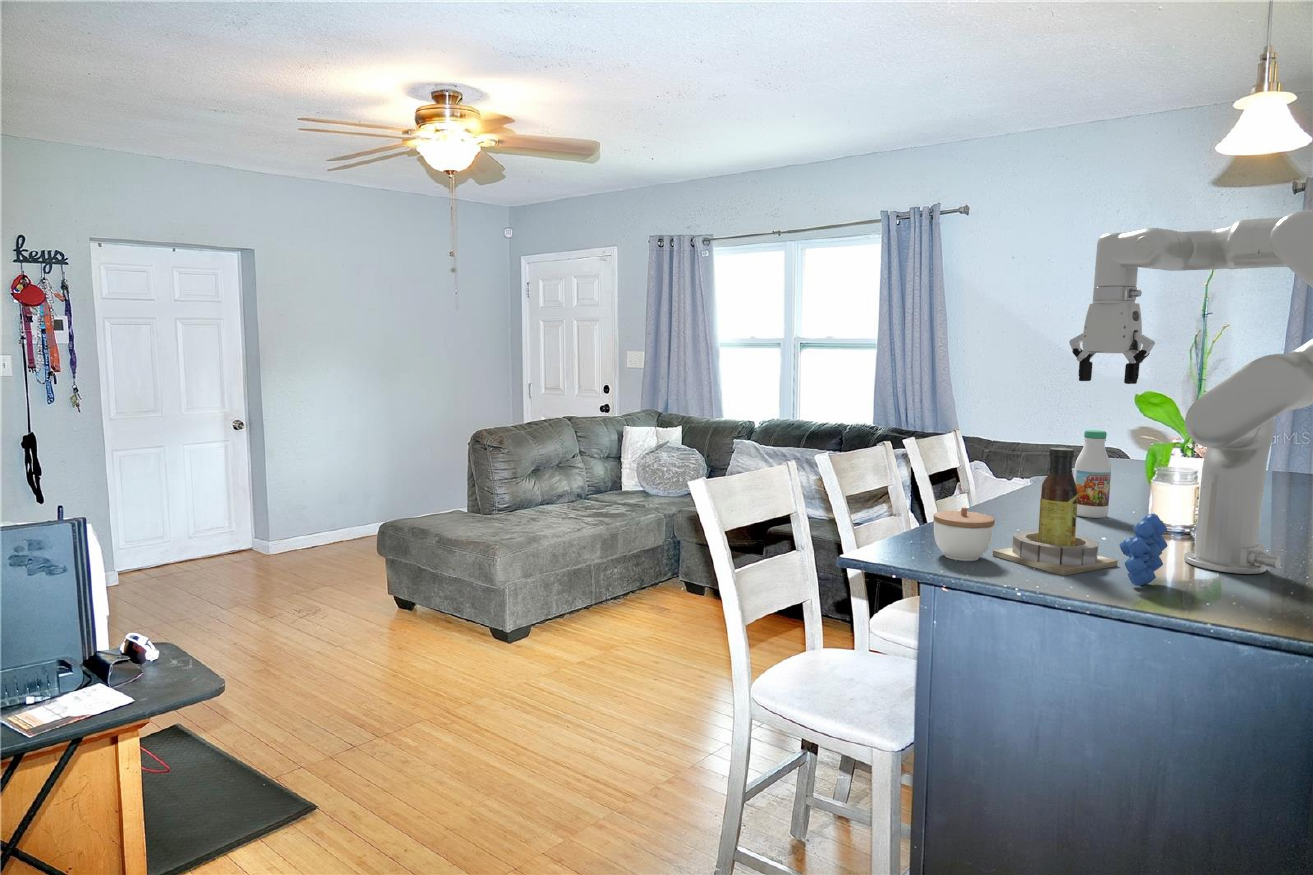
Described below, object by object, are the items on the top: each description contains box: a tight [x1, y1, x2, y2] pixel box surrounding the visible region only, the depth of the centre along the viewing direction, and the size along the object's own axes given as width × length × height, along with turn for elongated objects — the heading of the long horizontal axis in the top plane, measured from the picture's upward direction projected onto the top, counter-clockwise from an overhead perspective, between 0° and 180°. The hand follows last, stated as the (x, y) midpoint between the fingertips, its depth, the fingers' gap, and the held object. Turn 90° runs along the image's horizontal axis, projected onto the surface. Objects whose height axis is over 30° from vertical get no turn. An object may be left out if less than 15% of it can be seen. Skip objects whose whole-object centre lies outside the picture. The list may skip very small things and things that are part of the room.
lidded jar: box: [933, 506, 996, 562], centre depth 159 cm, size 11×11×9 cm
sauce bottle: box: [1037, 447, 1078, 546], centre depth 157 cm, size 6×6×20 cm
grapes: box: [1119, 513, 1168, 587], centre depth 143 cm, size 12×7×12 cm, turn 130°
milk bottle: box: [1073, 429, 1112, 519], centre depth 199 cm, size 8×8×20 cm
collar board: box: [992, 530, 1119, 577], centre depth 158 cm, size 15×15×4 cm
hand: (1107, 382), depth 172 cm, fingers open, 9 cm apart
